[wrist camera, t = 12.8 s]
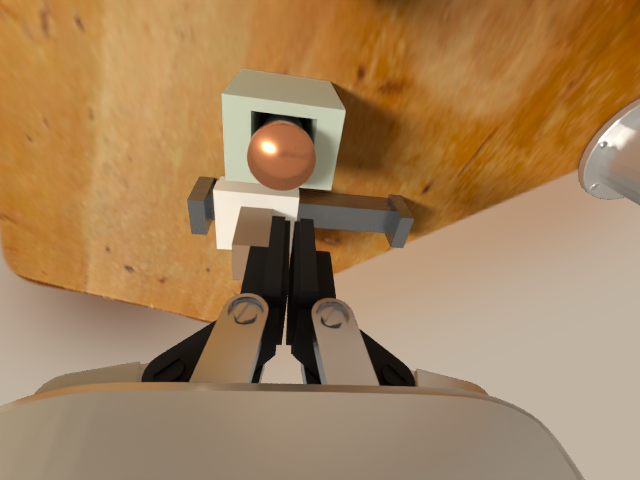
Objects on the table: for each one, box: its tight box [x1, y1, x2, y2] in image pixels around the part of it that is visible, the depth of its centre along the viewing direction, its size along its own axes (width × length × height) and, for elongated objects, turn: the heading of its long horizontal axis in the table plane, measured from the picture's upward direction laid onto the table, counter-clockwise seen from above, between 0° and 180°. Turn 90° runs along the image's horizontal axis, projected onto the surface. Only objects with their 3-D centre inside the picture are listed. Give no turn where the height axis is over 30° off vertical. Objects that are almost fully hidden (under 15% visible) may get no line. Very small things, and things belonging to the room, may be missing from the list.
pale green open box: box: [222, 68, 346, 190], centre depth 25 cm, size 8×6×10 cm
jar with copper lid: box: [247, 114, 316, 191], centre depth 22 cm, size 4×4×6 cm
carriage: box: [213, 176, 299, 281], centre depth 30 cm, size 8×7×10 cm
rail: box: [187, 177, 414, 248], centre depth 34 cm, size 23×4×5 cm, turn 81°
